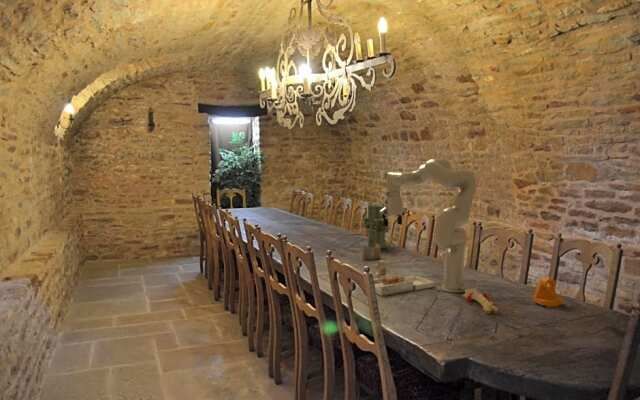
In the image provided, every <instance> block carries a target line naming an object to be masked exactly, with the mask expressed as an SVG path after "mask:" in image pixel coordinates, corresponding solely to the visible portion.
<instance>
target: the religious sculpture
mask: <svg viewBox="0 0 640 400" xmlns="http://www.w3.org/2000/svg"><path fill="white" fill-rule="evenodd" d="M383 208H384V205H382V204H368V205H367V210H368V211H367V216H364V217H363V228H364V229H365V230H367V233H368V237H367V238H368V240H367V241H368V242H367V243H368V248H370V247H375V244H379V246H380V247H381V249H385V248H386V242H387V240H386V237H385V234H386V233H389V225H388V226H384V224H383V220H384V218H383V217H382V216H381V214H380V211H381V210H382V209H383ZM383 213H384V212H383ZM388 224H389V221H388Z"/></svg>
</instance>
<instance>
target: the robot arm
mask: <svg viewBox="0 0 640 400" xmlns="http://www.w3.org/2000/svg"><path fill="white" fill-rule="evenodd" d="M451 169H452V165H451V162H450V161H449V160H448V159H445V158H433V159H429V160H428V161H426V163H424V164H422V165H420V166H419V167H418V170H415V171H407V172H397V171H396V172H395V171H394V172H393V171H390V172H389V171H388V172H387V173H386V192H385V193H384V196H385V198H384V205H383V206H384V208H383V209H382V210H381V211H380V214H381V216H382V217H383V218H384V220H383V224H384V226H388V227H389V223H388V222H389V219H388V218H389V216H397V224H398V225H403V218H404V216H405V213H406V212H407V208H404V207H403V205H404V204H403V199H402V196H401V187H413V186H416V185H417V186H418V185H421V184H423V183H427V181H430V180H433V181H435V182H437V184H440V185H441V186H442V187H445V189H446V188H447V189H455V188H459V189H458V191H457V193H456V194H455V196H454V200H453V205H452V206H451V207H447V208H444V209H443V210H442V211H441V212H440V214H439V217H438V221H437V224H436V229H435V234H434V240H435V244H436V245H437V246H438V248H440V249H445V250H444V263H443V264H444V266H443V267H444V271H443V272H444V274H443V284H441V285H440V290H442V291H444V292H448V293H465V290H466V289H469V285H466V281H465V280H464V278H465V277H464V276H465V275H464V274H465V253H466V245H467V241H468V235H467V232H466V230H465V229H464V228H462V227H460V226H464V225H466V224H467V223H468V222H469V219H470V214H471V210H472V208H473V207H472V206H473V201H474V197H475V194H476V190H477V180H476V177H475V176H474V174H473V173H472V172H470V171H469V170H465V169H453V170H451ZM383 212H384V213H383Z"/></svg>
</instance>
